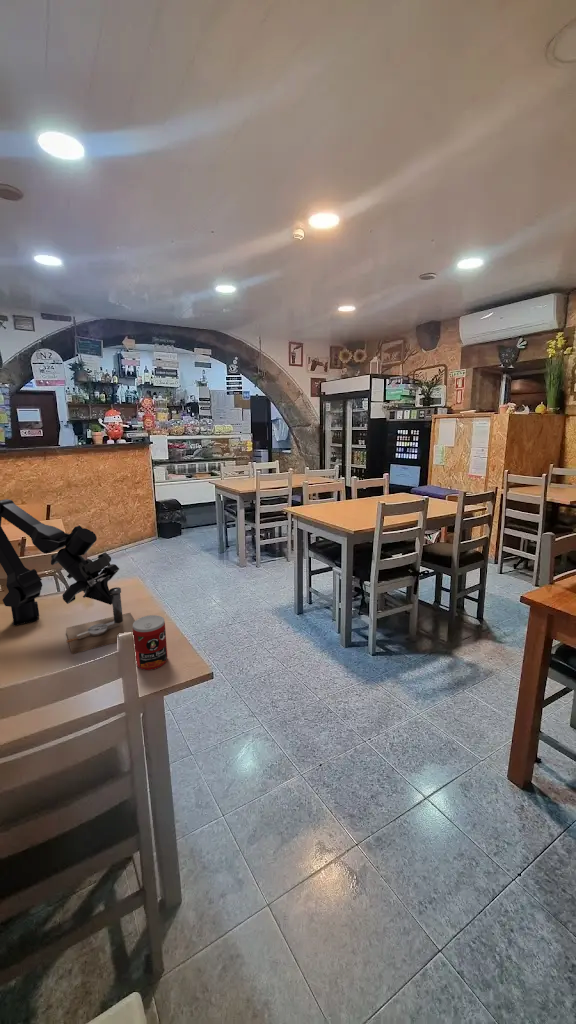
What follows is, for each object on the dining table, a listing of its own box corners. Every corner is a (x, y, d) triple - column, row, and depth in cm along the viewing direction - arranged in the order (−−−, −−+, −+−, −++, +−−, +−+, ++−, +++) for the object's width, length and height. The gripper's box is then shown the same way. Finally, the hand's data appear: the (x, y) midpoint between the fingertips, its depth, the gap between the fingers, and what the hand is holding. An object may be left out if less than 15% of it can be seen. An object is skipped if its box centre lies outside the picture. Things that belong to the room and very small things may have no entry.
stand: (68, 654, 110) (68, 649, 109) (64, 633, 121) (63, 627, 121) (141, 635, 119) (141, 629, 119) (130, 616, 131) (130, 611, 131)
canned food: (138, 674, 101) (134, 632, 99) (134, 658, 108) (130, 619, 106) (170, 665, 104) (167, 625, 102) (164, 650, 111) (161, 612, 109)
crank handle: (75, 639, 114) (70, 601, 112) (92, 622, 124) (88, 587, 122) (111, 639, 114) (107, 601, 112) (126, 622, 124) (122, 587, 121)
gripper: (66, 557, 110) (106, 599, 110) (110, 538, 128) (146, 575, 128) (45, 583, 114) (84, 624, 113) (91, 561, 131) (125, 597, 131)
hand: (112, 603), depth 121 cm, fingers closed, pressing on crank handle
